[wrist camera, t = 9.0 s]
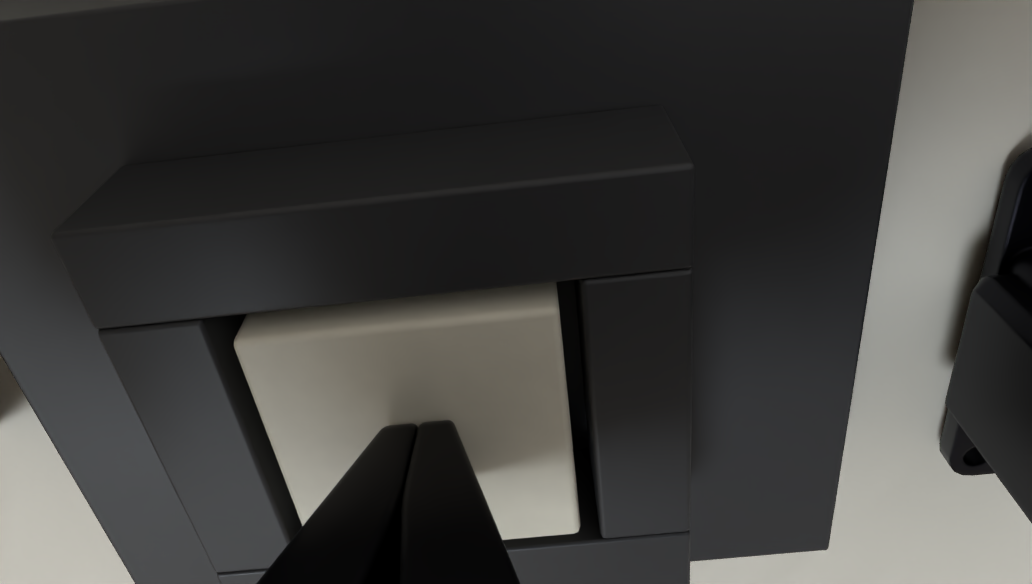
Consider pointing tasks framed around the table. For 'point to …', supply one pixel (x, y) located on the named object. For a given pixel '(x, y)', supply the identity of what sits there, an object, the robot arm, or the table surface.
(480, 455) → the key
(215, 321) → the key block
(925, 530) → the table surface
